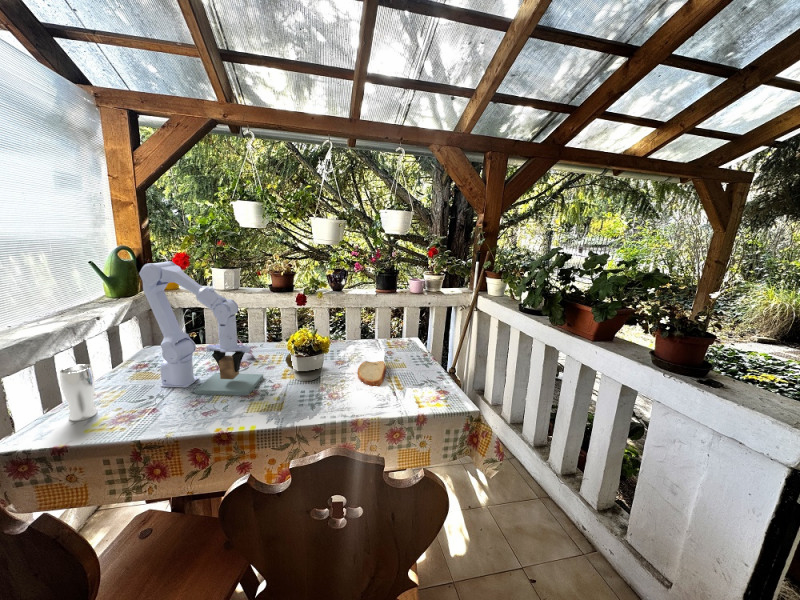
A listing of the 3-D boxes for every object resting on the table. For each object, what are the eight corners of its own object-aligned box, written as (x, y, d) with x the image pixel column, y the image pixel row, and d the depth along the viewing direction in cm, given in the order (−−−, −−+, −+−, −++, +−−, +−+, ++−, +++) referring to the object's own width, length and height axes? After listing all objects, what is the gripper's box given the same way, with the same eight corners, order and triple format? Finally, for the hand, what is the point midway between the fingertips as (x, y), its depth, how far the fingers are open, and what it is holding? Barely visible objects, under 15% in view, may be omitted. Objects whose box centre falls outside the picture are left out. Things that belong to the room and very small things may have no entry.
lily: (252, 366, 141) (261, 345, 143) (223, 358, 137) (233, 336, 139) (252, 364, 152) (261, 344, 154) (225, 356, 148) (235, 336, 150)
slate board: (194, 393, 115) (194, 389, 114) (216, 376, 128) (215, 372, 128) (247, 395, 115) (247, 391, 115) (263, 377, 129) (263, 374, 129)
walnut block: (220, 378, 118) (218, 360, 117) (226, 373, 123) (225, 355, 121) (233, 379, 118) (231, 361, 117) (239, 373, 123) (237, 355, 121)
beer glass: (80, 409, 102) (73, 363, 99) (105, 409, 103) (98, 363, 100) (60, 422, 96) (51, 373, 93) (86, 422, 96) (78, 373, 93)
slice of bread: (374, 389, 125) (374, 380, 124) (342, 374, 136) (342, 366, 135) (404, 375, 138) (405, 366, 137) (373, 362, 149) (374, 354, 149)
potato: (317, 375, 134) (316, 356, 132) (284, 374, 133) (283, 355, 131) (320, 366, 142) (320, 348, 140) (289, 366, 141) (289, 348, 139)
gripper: (200, 337, 114) (203, 374, 116) (243, 339, 114) (245, 375, 117) (211, 331, 121) (214, 366, 123) (252, 332, 121) (253, 367, 124)
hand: (230, 370), depth 121 cm, fingers closed on walnut block, 4 cm apart
